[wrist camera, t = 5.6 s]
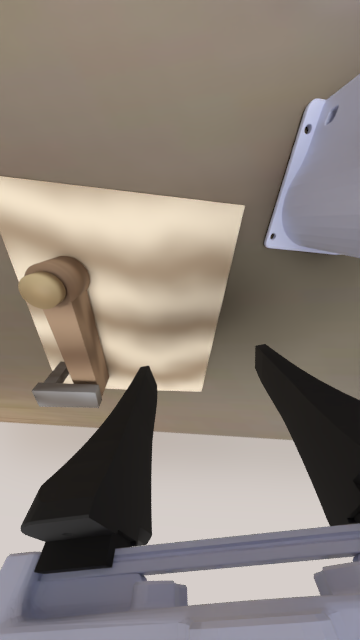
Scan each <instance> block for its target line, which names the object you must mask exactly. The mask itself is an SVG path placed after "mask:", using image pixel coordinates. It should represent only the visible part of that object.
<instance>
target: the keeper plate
mask: <svg viewBox="0 0 360 640" xmlns="http://www.w3.org/2000/svg"><path fill="white" fill-rule="evenodd" d="M244 207H245V206H244V205H235V204H227V203H219V202H210V201H202V200H194V199H185V198H177V197H169V196H160V195H152V194H144V193H135V192H127V191H119V190H110V189H102V188H94V187H85V186H77V185H69V184H60V183H52V182H44V181H35V180H27V179H19V178H10V177H2V176H0V233H1V235H2V238H3V241H4V243H5V246H6V249H7V251H8V254H9V257H10V259H11V262H12V265H13V267H14V270H15V273H16V275H17V278H18V281H19V284H18V288H19V292H20V294H21V295H22V297H23V298H24V299H25V300H26V302H27V305H28V307H29V310H30V313H31V315H32V318H33V321H34V323H35V326H36V329H37V331H38V334H39V337H40V339H41V342H42V345H43V347H44V350H45V353H46V355H47V358H48V361H49V363H50V366H51V369H52V373H51V374H50V375H49V377H48V378H47V379H46V380H45V382H44V383H38V384H37V385H36V386H35V387H34V389H33V390H32V392H33V394H34V396H35V398H36V400H37V402H38V405H39V406H45V407H89V408H99V406H100V403H101V401H102V397H101V392H100V387H99V385H97V384H74V383H73V381H72V379H71V376H70V374H69V371H68V369H67V367H66V364H65V362H64V359H63V357H62V355H61V352H60V350H59V347H58V345H57V342H56V340H55V338H54V335H53V333H52V330H51V328H50V326H49V323H48V321H47V318H46V316H45V314H44V311H43V309H51V308H53V307H55V306H56V305H57V304H59V303H60V302H61V301H63V300H64V298H65V295H66V290H65V287H64V285H63V283H62V282H61V281H60V280H59V279H58V278H57V277H56V276H54V275H53V274H51V273H48V272H45V271H38V272H34V273H32V274H29V275H26V276H24V275H25V272H26V270H27V269H28V268H29V267H30V266H31V265H34V264H37V263H40V262H43V261H46V260H49V259H52V258H55V257H59V256H68V257H72V258H74V259H76V260H78V261H79V262H80V263H81V264H82V265H83V266H84V267H85V268H86V270H87V271H88V274H89V277H90V284H89V287H88V289H87V292H88V296H89V300H90V304H91V308H92V312H93V316H94V319H95V323H96V327H97V331H98V335H99V339H100V343H101V347H102V351H103V355H104V358H105V362H106V366H107V370H108V374H109V380H108V382H107V385H106V387H105V389H128V387H129V385H130V384H131V382H132V380H133V379H134V377H135V375H136V373H137V372H138V370H139V368H140V367H143V366H149V367H150V369H151V371H152V374H153V376H154V379H155V381H156V383H157V390H165V391H197V392H201V390H202V386H203V382H204V377H205V373H206V369H207V365H208V360H209V356H210V352H211V348H212V343H213V339H214V335H215V331H216V326H217V322H218V318H219V314H220V309H221V305H222V301H223V297H224V292H225V288H226V284H227V280H228V275H229V271H230V267H231V262H232V258H233V254H234V250H235V245H236V241H237V237H238V233H239V228H240V224H241V220H242V216H243V211H244Z"/></svg>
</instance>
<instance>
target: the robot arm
mask: <svg viewBox="0 0 360 640" xmlns="http://www.w3.org/2000/svg"><path fill="white" fill-rule="evenodd" d="M305 127H308V133H307V134H305V132H304V130H305ZM271 234H274V237H273V238H272V239H271V238H270V236H271ZM264 245H265V247H267V248H274V249H284V250H294V251H304V252H314V253H323V254H333V255H339V254H342V255H347V256H352V257H357V258H360V74H359V75H357V76H356V77H355V78H354V79H352V80H351V81H350V82H349V83H347V84H346V85H345V86H343V87H342V88H341V89H340V90H338V91H337V92H336V93H334V94H333V95H332V96H331V97H329V98H328V99H327V100H324V99H319V98H317V99H314V100H312V101H311V102H310V103H309V104H308V105H307V106H306V109H305V111H304V114H303V118H302V121H301V124H300V127H299V131H298V134H297V137H296V140H295V144H294V147H293V150H292V153H291V157H290V160H289V163H288V166H287V170H286V173H285V176H284V179H283V183H282V186H281V189H280V192H279V196H278V199H277V202H276V205H275V209H274V212H273V215H272V218H271V222H270V225H269V228H268V231H267V235H266V238H265V241H264ZM255 369H256V371H257V373H258V376H259V378H260V380H261V382H262V384H263V386H264V388H265V389H266V391H267V393H268V394H269V396H270V398H271V400H272V401H273V403H274V405H275V406H276V408H277V410H278V411H279V413H280V415H281V417H282V418H283V420H284V422H285V424H286V426H287V428H288V430H289V432H290V434H291V437H292V439H293V441H294V443H295V445H296V447H297V450H298V452H299V454H300V456H301V458H302V460H303V463H304V465H305V467H306V470H307V472H308V474H309V477H310V479H311V481H312V484H313V486H314V488H315V491H316V493H317V496H318V498H319V500H320V503H321V505H322V507H323V510H324V513H325V515H326V518H327V520H328V522H329V524H330V527H319V528H310V529H300V530H290V531H282V532H271V533H262V534H252V535H243V536H233V537H224V538H214V539H205V540H194V541H185V542H175V543H166V544H156V545H146V544H147V543H148V541H149V540H150V538H151V536H152V522H151V461H152V438H153V430H154V422H155V414H156V406H157V383H156V381H155V379H154V376H153V374H152V371H151V369H150V367H149V366H143V367H140V368H139V370H138V372H137V373H136V375H135V377H134V379H133V380H132V382H131V384H130V385H129V387H128V389H127V390H126V392H125V393H124V395H123V397H122V398H121V399H120V401H119V402H118V404H117V405H116V407H115V408H114V410H113V411H112V412H111V414H110V415H109V416H108V418H107V419H106V420H105V421H104V423H103V424H102V425H101V426H100V428H99V429H98V430H97V431H96V432H95V433H94V435H93V436H92V437H91V438H90V439H89V440H88V442H86V443H85V445H84V446H83V447H82V448H81V449H80V450H79V451H78V452H77V453H76V454H75V455H74V456H73V457H72V458H71V459H70V460H69V461H68V462H67V463H66V464H65V465H64V466H62V467H61V468H60V469H59V470H58V471H57V472H56V473H55V474H54V475H53V476H52V477H50V478H49V479H48V480H47V481H46V482H45V483H44V484H43V485H42V486H41V487H40V489H39V491H38V493H37V495H36V497H35V499H34V501H33V503H32V505H31V507H30V509H29V511H28V513H27V515H26V517H25V519H24V521H23V523H22V525H21V531H22V533H24V534H25V535H28V536H30V537H33V538H36V539H39V540H42V541H45V545H44V548H43V550H42V552H26V553H17V554H10V555H9V556H8V557H7V558H6V560H5V562H4V564H3V567H2V569H1V571H0V640H360V400H358V399H356V398H354V397H351V396H349V395H347V394H345V393H343V392H341V391H339V390H337V389H335V388H333V387H331V386H329V385H327V384H326V383H324V382H322V381H320V380H318V379H316V378H315V377H313V376H311V375H310V374H308V373H306V372H305V371H303V370H302V369H300V368H298V367H297V366H295V365H294V364H292V363H291V362H289V361H288V360H287V359H285V358H284V357H282V356H281V355H279V354H278V353H277V352H275V351H274V350H273V349H271V348H270V347H268V346H267V345H266V344H263V345H258V346H256V348H255ZM141 545H146V546H141ZM132 546H137V547H132ZM352 556H355V557H354V558H353V562H351V563H345V564H338V565H333V566H326V567H323V570H322V571H321V572H318V573H316V574H314V579H315V582H316V584H317V587H318V589H319V592H320V595H321V596H308V597H292V598H279V599H264V600H251V601H238V602H226V603H214V604H202V605H192V606H188V605H187V587H186V586H185V585H180V584H176V583H174V581H147V580H146V578H145V577H144V575H155V574H165V573H177V572H187V571H198V570H208V569H220V568H231V567H242V566H252V565H263V564H275V563H286V562H297V561H308V560H319V559H330V558H340V557H352Z"/></svg>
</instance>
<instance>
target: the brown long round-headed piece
mask: <svg viewBox="0 0 360 640" xmlns="http://www.w3.org/2000/svg"><path fill="white" fill-rule="evenodd" d="M38 271H45V272H48V273H51V274H53V275H54V276H56V277H57V278H58V279H59V280H60V281H61V282H62V283H63V285H64V287H65V290H66V295H65V298H64V300H63V301H61V302H60V303H59V304H57V305H56V306H55V307H53V308H51V309H43V311H44V314H45V316H46V318H47V321H48V323H49V326H50V328H51V330H52V333H53V335H54V338H55V340H56V342H57V345H58V347H59V350H60V352H61V355H62V357H63V359H64V362H65V364H66V367H67V369H68V371H69V374H70V376H71V379H72V381H73V383H74V384H97V385H99V387H100V392H101V397H102V395H103V392H104V390H105V387H106V385H107V382H108V380H109V374H108V370H107V366H106V362H105V358H104V355H103V351H102V347H101V343H100V339H99V335H98V331H97V327H96V323H95V319H94V316H93V312H92V308H91V304H90V300H89V296H88V292H87V289H88V287H89V284H90V277H89V274H88V271H87V270H86V268H85V267H84V266H83V265H82V264H81V263H80V262H79V261H78V260H76V259H74V258H72V257H68V256H59V257H55V258H52V259H49V260H46V261H43V262H40V263H37V264H34V265H31V266H30V267H29V268H28V269H27V270H26V272H25V275H24V276H26V275H29V274H32V273H34V272H38Z"/></svg>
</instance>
